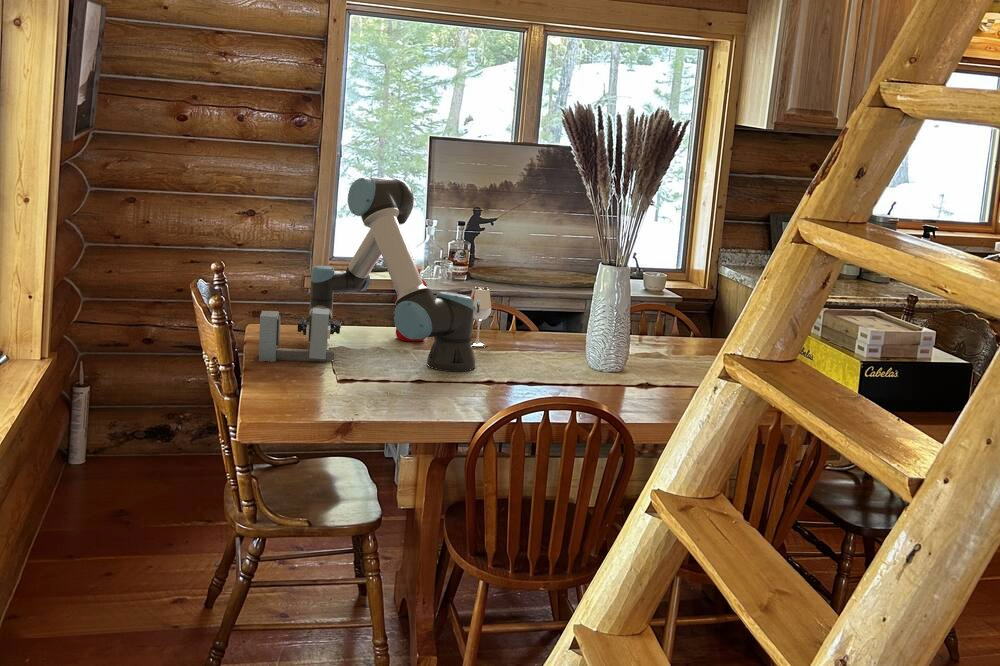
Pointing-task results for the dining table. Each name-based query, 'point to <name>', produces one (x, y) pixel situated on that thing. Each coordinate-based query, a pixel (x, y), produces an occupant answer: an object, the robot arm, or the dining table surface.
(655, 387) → the dining table surface
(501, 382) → the dining table surface
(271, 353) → the grey l-shaped block
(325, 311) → the tall grey-blue pillar
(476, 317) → the wineglass
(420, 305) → the robot arm
